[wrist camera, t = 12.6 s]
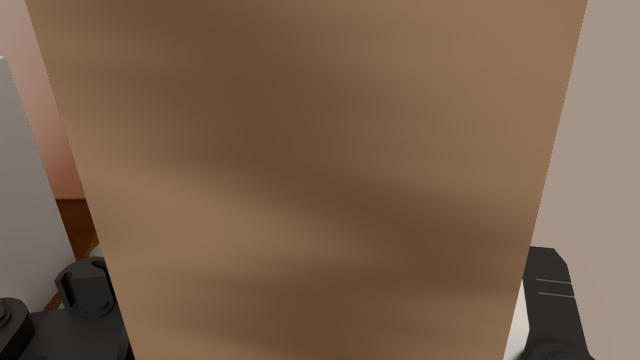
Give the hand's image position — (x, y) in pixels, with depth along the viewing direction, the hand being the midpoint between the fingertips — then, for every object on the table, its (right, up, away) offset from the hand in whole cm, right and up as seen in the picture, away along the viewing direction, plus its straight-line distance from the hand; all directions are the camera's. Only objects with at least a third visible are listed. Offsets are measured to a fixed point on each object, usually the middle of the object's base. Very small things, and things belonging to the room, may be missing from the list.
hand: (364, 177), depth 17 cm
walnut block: (-1, -11, +1) cm, 11 cm away
